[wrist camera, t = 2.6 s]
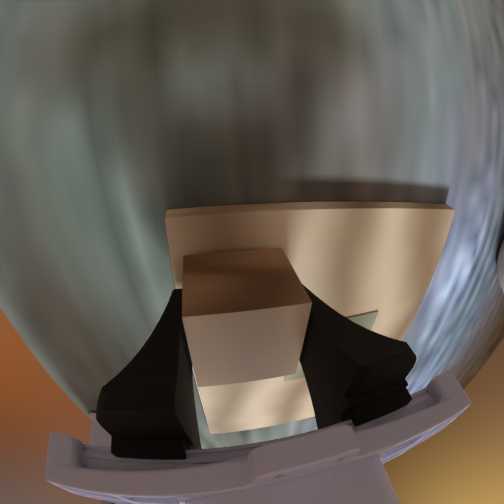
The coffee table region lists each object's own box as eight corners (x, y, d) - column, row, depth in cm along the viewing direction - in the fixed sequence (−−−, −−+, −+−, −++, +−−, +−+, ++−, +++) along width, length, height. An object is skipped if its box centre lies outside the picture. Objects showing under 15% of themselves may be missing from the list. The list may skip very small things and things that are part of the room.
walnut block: (193, 326, 15) (198, 387, 11) (183, 255, 12) (182, 316, 9) (274, 318, 15) (295, 373, 12) (281, 247, 13) (311, 302, 10)
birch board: (209, 426, 25) (211, 434, 24) (166, 209, 12) (164, 218, 11) (361, 394, 28) (364, 401, 27) (445, 203, 15) (456, 210, 15)
